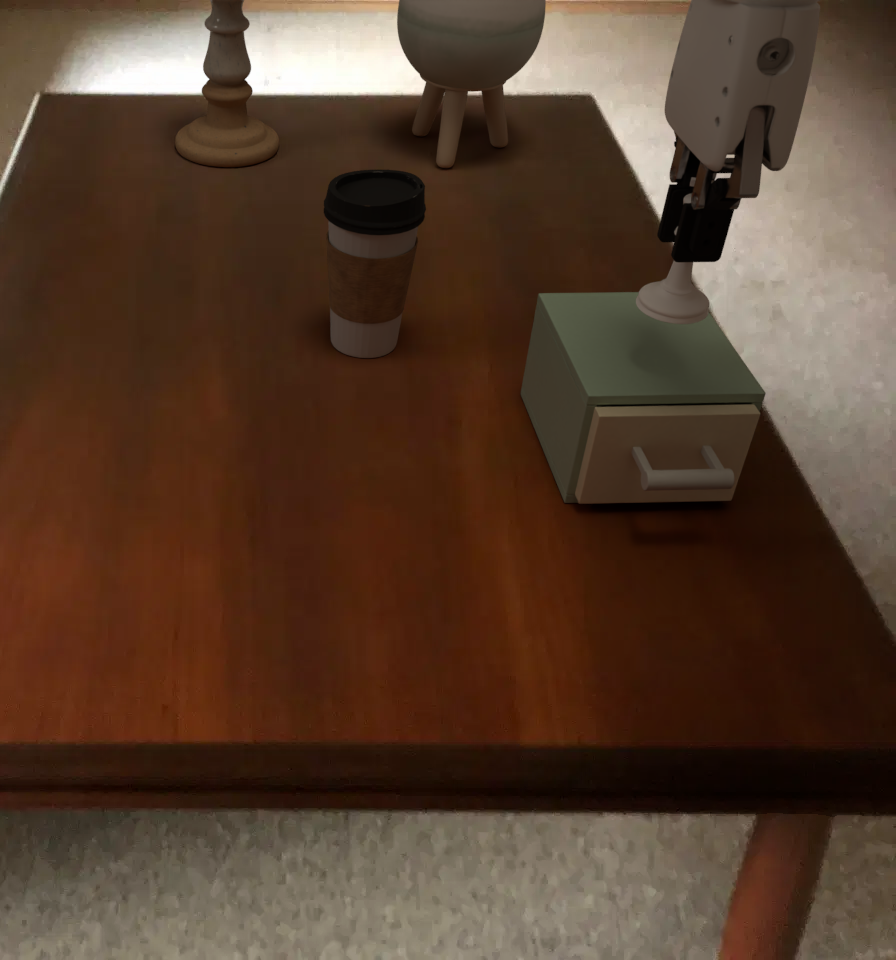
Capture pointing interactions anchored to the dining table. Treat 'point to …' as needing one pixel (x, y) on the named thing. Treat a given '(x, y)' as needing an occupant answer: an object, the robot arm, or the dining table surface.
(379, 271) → the coffee cup
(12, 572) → the dining table surface
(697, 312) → the chess piece
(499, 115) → the planter
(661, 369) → the cabinet
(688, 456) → the drawer
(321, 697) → the dining table surface
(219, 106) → the candle holder
